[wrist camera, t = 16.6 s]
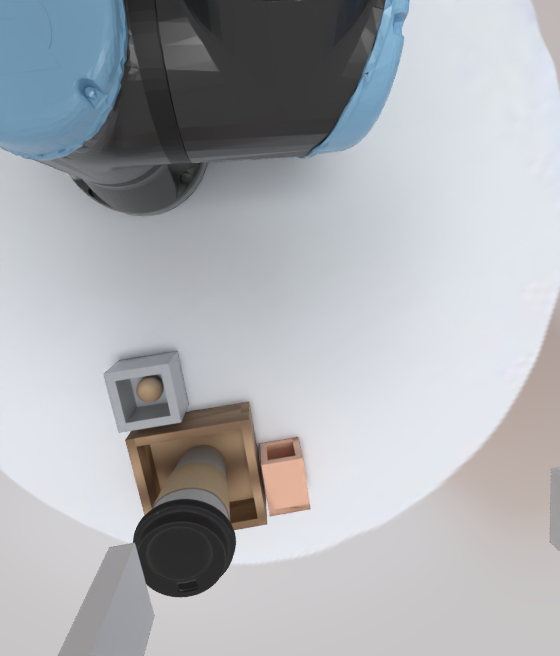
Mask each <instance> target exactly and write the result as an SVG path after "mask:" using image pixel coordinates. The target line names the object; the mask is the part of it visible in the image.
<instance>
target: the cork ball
mask: <svg viewBox="0 0 560 656" xmlns="http://www.w3.org/2000/svg"><path fill="white" fill-rule="evenodd" d="M162 393H163V385H162V383H161V381H160V380H159V379H157V378H155V377H146V378H144V379H142V380H141V381H140V382H139V383H138V385H137V387H136V394H137V396H138V398H139V399H140V400H142V401H143V402H147V403H151V402H155V401H157V400H158V399H159V398H160V397H161V395H162Z"/></svg>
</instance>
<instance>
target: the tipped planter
mask: <svg viewBox="0 0 560 656" xmlns="http://www.w3.org/2000/svg"><path fill="white" fill-rule="evenodd" d="M260 449H261V467H262V473H263V479H264V484H265V490H266V496H267V502H268V507H269V513H270V516H275V515H280V514H286V513H292V512H297V511H303V510H308V509H310V502H309V495H308V488H307V482H306V475H305V468H304V461H303V456H302V452H301V447H300V443H299V439H298V437H296V438H290V439H284V440H279V441H273V442H267V443H261V444H260Z"/></svg>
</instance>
